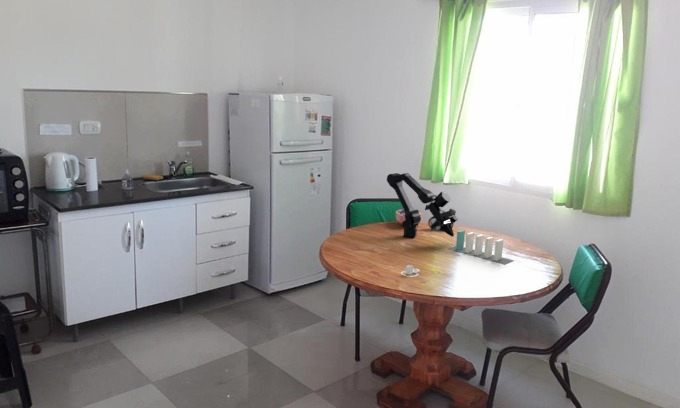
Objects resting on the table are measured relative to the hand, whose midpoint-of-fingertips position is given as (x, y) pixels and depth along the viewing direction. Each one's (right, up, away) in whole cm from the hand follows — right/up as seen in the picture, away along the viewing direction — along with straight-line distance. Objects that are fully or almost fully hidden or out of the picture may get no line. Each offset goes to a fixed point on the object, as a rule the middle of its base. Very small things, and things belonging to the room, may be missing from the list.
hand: (453, 236), depth 279 cm
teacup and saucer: (-26, -16, -41) cm, 51 cm away
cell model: (-18, +4, +45) cm, 49 cm away
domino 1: (+7, -8, -6) cm, 12 cm away
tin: (0, +1, +37) cm, 37 cm away
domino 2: (+11, -9, -9) cm, 17 cm away
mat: (+12, -9, -10) cm, 18 cm away
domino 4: (+19, -11, -17) cm, 27 cm away
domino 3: (+15, -10, -13) cm, 22 cm away
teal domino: (+3, -7, -2) cm, 8 cm away
